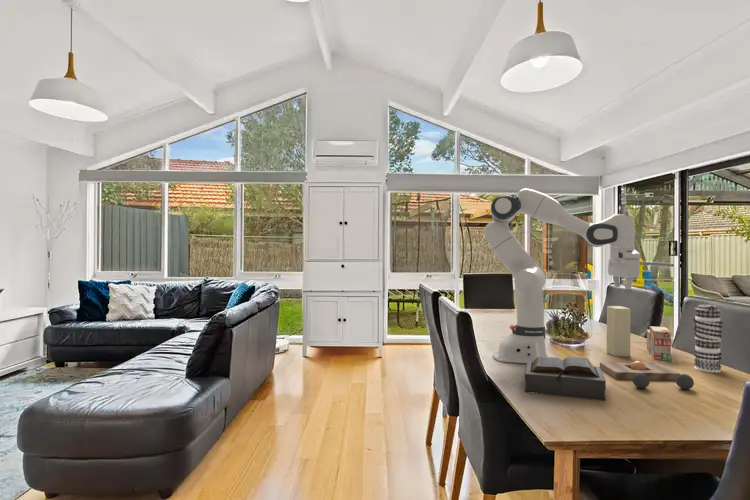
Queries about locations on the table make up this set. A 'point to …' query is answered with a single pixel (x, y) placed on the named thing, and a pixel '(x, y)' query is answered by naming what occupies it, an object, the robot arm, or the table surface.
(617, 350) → the toy refrigerator
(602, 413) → the table surface
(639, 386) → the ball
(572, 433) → the table surface
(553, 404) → the table surface
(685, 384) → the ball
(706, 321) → the black white tall cylinder
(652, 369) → the walnut board
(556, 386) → the bible
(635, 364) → the terracotta ball
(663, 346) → the stack of blocks
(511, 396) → the table surface
